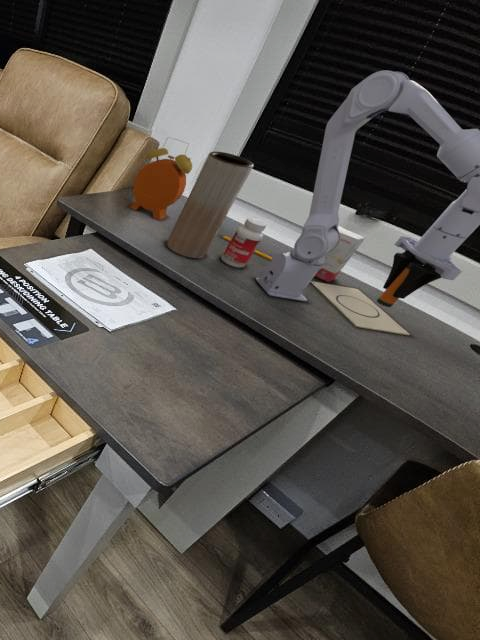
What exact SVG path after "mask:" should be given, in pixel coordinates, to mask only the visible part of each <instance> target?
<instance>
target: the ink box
mask: <svg viewBox="0 0 480 640" xmlns="http://www.w3.org/2000/svg"><path fill="white" fill-rule="evenodd" d="M338 230H339V233H340V236H341V238H340V242H339V244H338V246H337V247H336V248H335V249H333V250H332V251H330V252H328V253H326V254H325V263H324V264H323V265H322V267H321V268H320V269H319V271H318V272H317V273H316V275H315V276H314V277H315V278H317V279H319V280H322V281H324V282H326V283H329V282H331V281H333V280H335V279H336V278H337V276H338V275H339V273H340V272H342V270H343V269H344V267H345V266H346V265H347V263H348V261H349V260H350V259H351V258H352V257H353V255H354V254H355V253H356V251H358V249H359V248H360V246H361V245H362V243H364V241H365V239H366V237H364V236H362V235H360V234H358V233H355V232H353V231H350V230H348V229H346V228H345V227H344V228H343V227H342V226H339V225H338Z"/></svg>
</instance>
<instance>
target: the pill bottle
mask: <svg viewBox="0 0 480 640" xmlns="http://www.w3.org/2000/svg"><path fill="white" fill-rule="evenodd" d="M243 224H244V225H242V226H239V227H238V228H237V229H236V230H235V233H234V234H233V236H232V237H231V241H229V243H228V244H227V246H226V247H225V250H224V251H223V253H222V255H221V257H220V258H221V261H222V262H224V263H225V264H227V265H228V266H231V267H234V268H240V269H241V268H244V267H246V265H247V263H248V262H249V260H250V259H251V258H252V256H253V254H255V253H254V251H255V250H256V249H257V248H258V246H259V245H260V243H261V242H262V240H263V237H264V234H263V233H262V232H264V231H265V229H266V227H267V223H266V222H265V221H263V220H261V219H259V218H255V217H247V218H246V220H245V221H244V223H243Z"/></svg>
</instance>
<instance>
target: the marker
mask: <svg viewBox="0 0 480 640" xmlns="http://www.w3.org/2000/svg"><path fill="white" fill-rule="evenodd" d="M412 264H418V263H415V262H410V263H409V264H408V265H407V266H406V268H405V269H404V270H403V271H402V272H401V274H400V275H399V276H398V277H397V278H396V279H395V280H394V281H393V282H392V284H391V285H390V286H389V287H388V288H387V289H384V291H383V292H382V294H381V295H379V297H377V299H376V302H377V303H378V304H379V305H381V306H383V307H387V308H391V307H393V306H394V304H396V302H397V301H398V300H399V299H400V298H396V297H394V296H393V294H394V293H395V291H396V290H397V289H398V287H399V286H400V285H401V284H402V283H403V281H404V280H405V278H406V277H407V275H408V273H409V271H410V269H411V266H412ZM419 265H421V264H419Z"/></svg>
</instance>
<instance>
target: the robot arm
mask: <svg viewBox="0 0 480 640" xmlns="http://www.w3.org/2000/svg"><path fill="white" fill-rule="evenodd" d="M385 111H387V112H390V113H391V112H392V113H397V114H403V115H408V116H409V117H410V118H412V120H414V121H415V122H416V123H417V124H418V125H419V126H420V127H421V128H422V129H423V130H424V131H425V132H426V133H427V134H429V136H430V137H431V138H432V139H434V140H435V141H436V143H438V144H439V148H438V150H437V154H436V157H437V158H438V159H439V160H440V162H441V163H443V165H445V166H446V168H447V169H448V170H449V171H450V172H451V173H452V174H453V175H454V176H455V177H456V178H457V179H458V180H459V181H460V182H465V183H467V186H466V189H464V191H463V192H462V193H461V194H460V195H459V196H458V198H456V199H455V200H453V201H452V202H451V203H450V204H449V205H448V206H447V208H446V209H445V210H444V211H443V212H442V213H441V214H440V216H439V217H438V218H437V219H436V220H435V221H434V222H433V223H432V225H431V226H430V227H429V228H428V229H427V230H426V231H425V233H423V235H421V236H420V238H419V239H418V241H417V240H415V239H413V238H412V237H409V236H404V235H403V236H402V235H401V236H400V237H399V238H398V239H397V241H395V243H394V244H393V245H394V246H396V247H397V248H401V249H402V250H404V251H402V252H395V254H394V255H393V262H392V266H391V270H390V272H389V274H388V276H387V278H386V280H385V282H384V284H383V286H382V288H383V289H384V290H386V289H387V288H388V287H389V286H390V285H391V284H392V282H393V281H394V280H395V279H396V278H397V277H398V276H399V275H400V274H401V272H402V271H403V270H404V269H405V268H406V266H407V265H408V264H409V263H410V262H415V263H418V264H412V266H411V269H410V271H409V273H408V275H407V277H406V278H405V280H404V281H403V283H402V284H401V285H400V286H399V287H398V289H397V290H396V291H395V293H394V294H393V296H394V297H396V298H399V299H402V300H403V299H406V298H407V297H408V296H410V295H411V294H412V293H414V292H416V291H417V290H419V289H420V288H422V287H424V286H426V285H428V284H430V283H432V282H434V281H436V280H439V279H443V280H449V281H455V280H456V278H457V277H458V276H459V275H461V273H463V271H462V270H461V269H460V268H459V267H457V266H456V265H455V264H454V263H453V262H452V261H451V259H452V257H451V256H452V255H453V253H455V251H456V250H457V249H459V247H461V245H462V244H463V243H464V242H465V241H466V240H467V239H468V238H469V237H470V236H471V235H472V234H473V233H474V231H475V230H476V229H477V228H478V227H479V226H480V129H479V128H470V129H469V128H468V129H463V128H462V127H461V126H460V125H459V124H458V122H456V121H455V120H454V118H452V116H451V115H450V114H449V113H448V112H447V110H446V109H445V108H444V107H443V106H442V105H441V104H440V103H439V102H438V100H437V99H436V98H435V97H434V95H432V94H431V92H429V91H428V89H426V88H424V87H423V86H422V85H421V84H419V83H418V82H416V81H414V80H411V79H410V78H409V76H408V75H407V74H405V72H402V71H392V70H379V71H376V72H374V73H371V74H370V75H368V76H367V77H366V78H364V79H363V80H362V81H360V82H359V83H358V84H357V85H355V86H354V87H353V88H351V90H350V92H349V94H348V95H347V97H346V98H345V99H344V101H343V102H342V104H341V105H340V106H339V107H338V108H337V110H336V111H335V112H334V113H333V115H332V116H331V117H330V119H329V120H328V122H327V123H326V126H325V130H324V135H323V142H322V146H321V152H320V157H319V162H318V167H317V172H316V177H315V182H314V188H313V192H312V198H311V203H310V210H309V214H308V217H307V218H306V221H305V222H304V224H303V226H302V231H301V233H300V234H299V237H297V240H296V241H295V243H294V245H293V248H291V250H290V251H288V252H278V253H276V254H275V255H274V256H272V257H271V258H272V259H271V260H269V262H268V263H267V265H266V266H265V268H263V270H262V272H261V274H260V275H259V277H255V281H256V282H257V284H258V285H260V286H261V288H262V289H263V290H264V292H266V293H267V295H269V296H270V297H276V298H282V299H288V300H294V301H299V302H307V301H308V299H307V297H305V295H303V292H304V291H305V290H306V288H308V285H310V284H311V281H312V280H313V279H314V277H316V276H315V275H316V273H317V272H318V271H319V269H320V268H321V267H322V265H323V264H324V263H325V254H326V253H328V252H330V251H332V250H333V249H335V248H336V247H337V246H338V244H339V242H340V238H341V236H340V233H339V230H338V226H339V223H340V216H339V210H340V205H341V202H342V201H341V200H342V196H343V191H344V188H345V187H344V186H345V183H346V178H347V174H348V169H349V168H348V167H349V163H350V159H351V154H352V150H353V145H354V141H355V136H356V132H357V131H358V130H359V129H360V128H361V127H363V126H364V125H365V124H366V123H368V122H369V121H370V120H372V119H373V118H374V117H376V116H377V115H379V114H382V113H383V112H385ZM419 264H421V265H419Z"/></svg>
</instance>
